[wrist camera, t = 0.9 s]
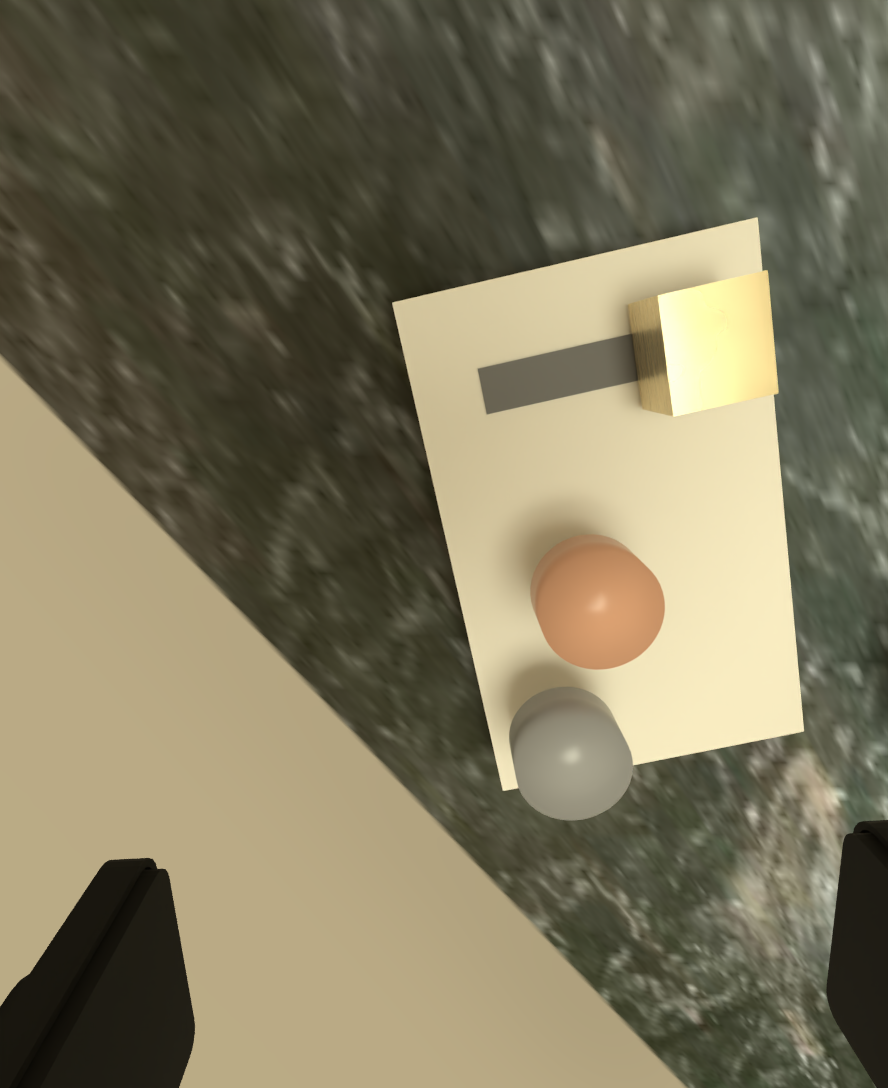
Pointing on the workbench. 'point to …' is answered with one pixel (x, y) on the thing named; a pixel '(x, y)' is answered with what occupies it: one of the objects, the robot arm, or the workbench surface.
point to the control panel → (607, 494)
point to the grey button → (569, 754)
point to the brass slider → (705, 345)
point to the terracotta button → (596, 602)
